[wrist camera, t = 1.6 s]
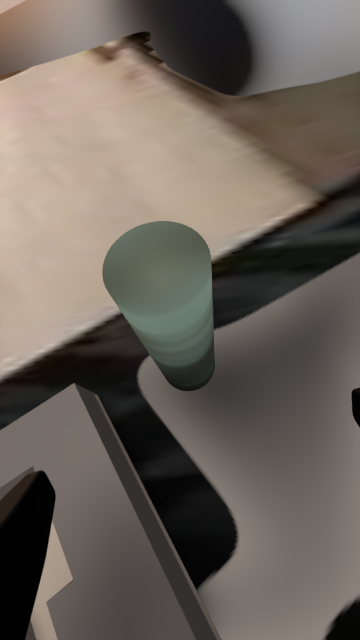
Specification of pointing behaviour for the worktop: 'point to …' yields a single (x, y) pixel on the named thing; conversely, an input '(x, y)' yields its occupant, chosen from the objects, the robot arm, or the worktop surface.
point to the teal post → (166, 297)
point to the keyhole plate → (99, 532)
